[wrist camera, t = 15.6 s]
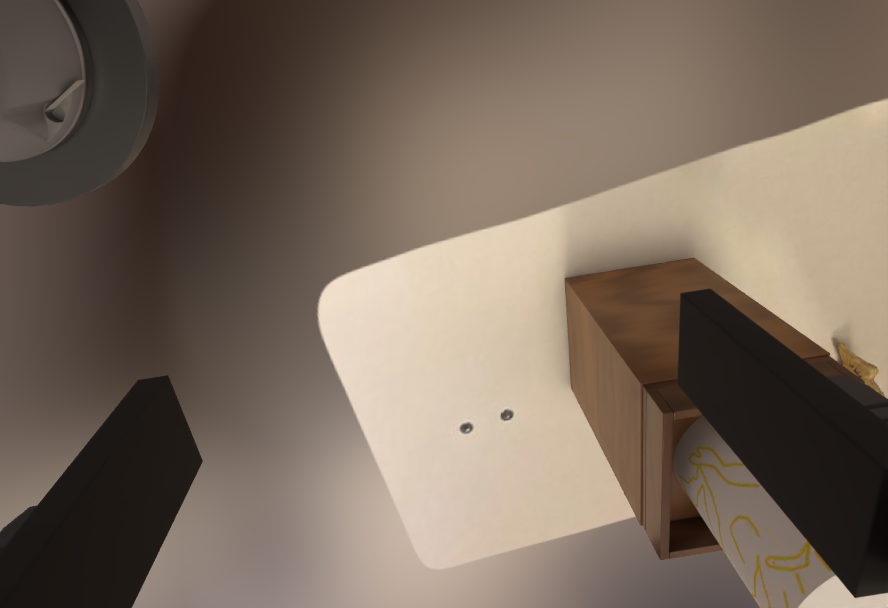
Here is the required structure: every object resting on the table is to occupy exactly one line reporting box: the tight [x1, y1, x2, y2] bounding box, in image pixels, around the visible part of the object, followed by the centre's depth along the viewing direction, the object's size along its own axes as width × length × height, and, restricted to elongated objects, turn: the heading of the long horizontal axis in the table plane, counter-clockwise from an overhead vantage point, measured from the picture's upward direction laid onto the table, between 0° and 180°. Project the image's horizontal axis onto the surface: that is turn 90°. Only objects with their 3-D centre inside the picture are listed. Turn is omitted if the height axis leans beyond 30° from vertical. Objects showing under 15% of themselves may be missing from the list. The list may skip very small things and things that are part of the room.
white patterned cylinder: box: [673, 416, 888, 608], centre depth 32 cm, size 8×8×12 cm
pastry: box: [838, 343, 885, 397], centre depth 56 cm, size 9×2×5 cm, turn 26°
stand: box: [565, 258, 830, 526], centre depth 46 cm, size 12×12×18 cm
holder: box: [642, 356, 865, 560], centre depth 36 cm, size 12×12×3 cm
